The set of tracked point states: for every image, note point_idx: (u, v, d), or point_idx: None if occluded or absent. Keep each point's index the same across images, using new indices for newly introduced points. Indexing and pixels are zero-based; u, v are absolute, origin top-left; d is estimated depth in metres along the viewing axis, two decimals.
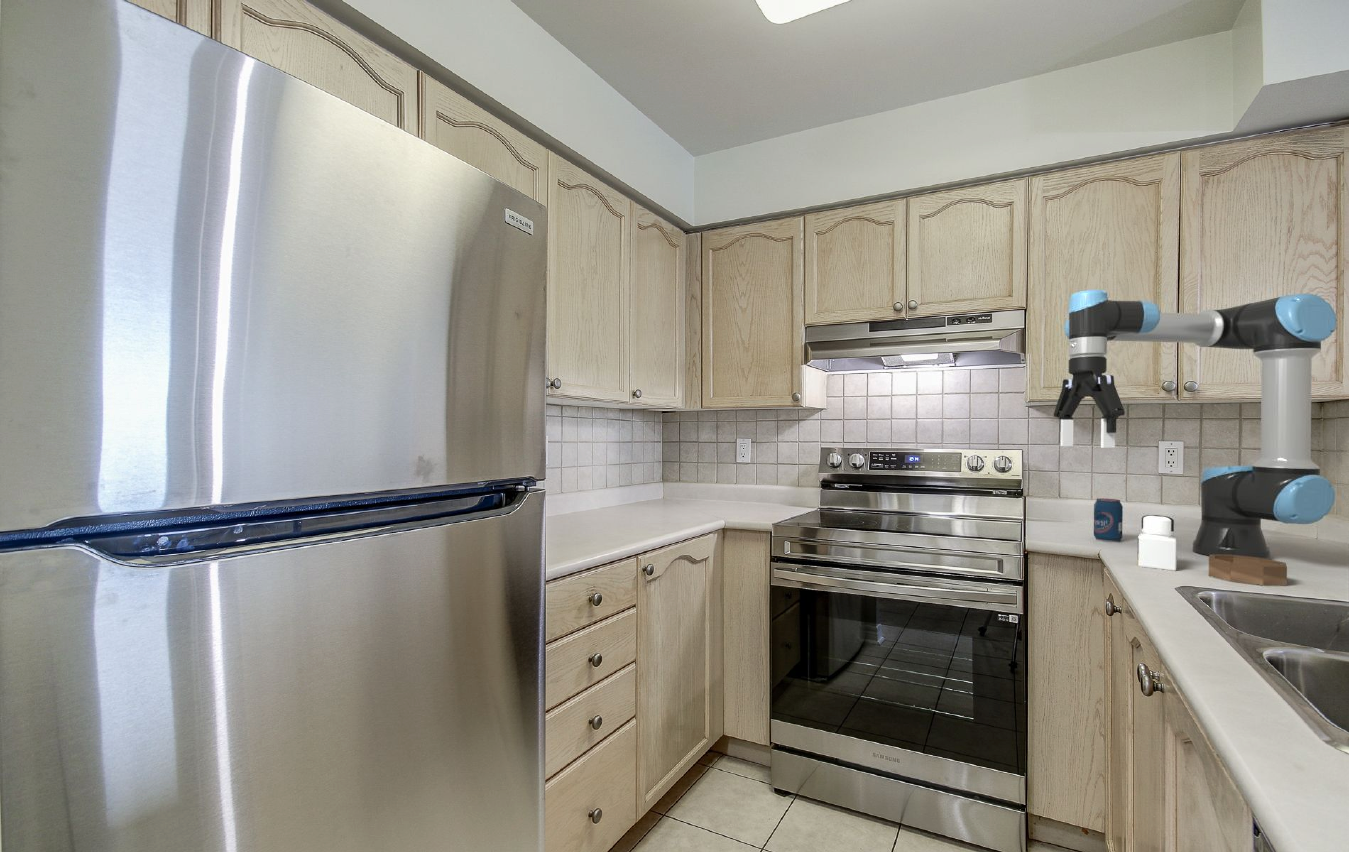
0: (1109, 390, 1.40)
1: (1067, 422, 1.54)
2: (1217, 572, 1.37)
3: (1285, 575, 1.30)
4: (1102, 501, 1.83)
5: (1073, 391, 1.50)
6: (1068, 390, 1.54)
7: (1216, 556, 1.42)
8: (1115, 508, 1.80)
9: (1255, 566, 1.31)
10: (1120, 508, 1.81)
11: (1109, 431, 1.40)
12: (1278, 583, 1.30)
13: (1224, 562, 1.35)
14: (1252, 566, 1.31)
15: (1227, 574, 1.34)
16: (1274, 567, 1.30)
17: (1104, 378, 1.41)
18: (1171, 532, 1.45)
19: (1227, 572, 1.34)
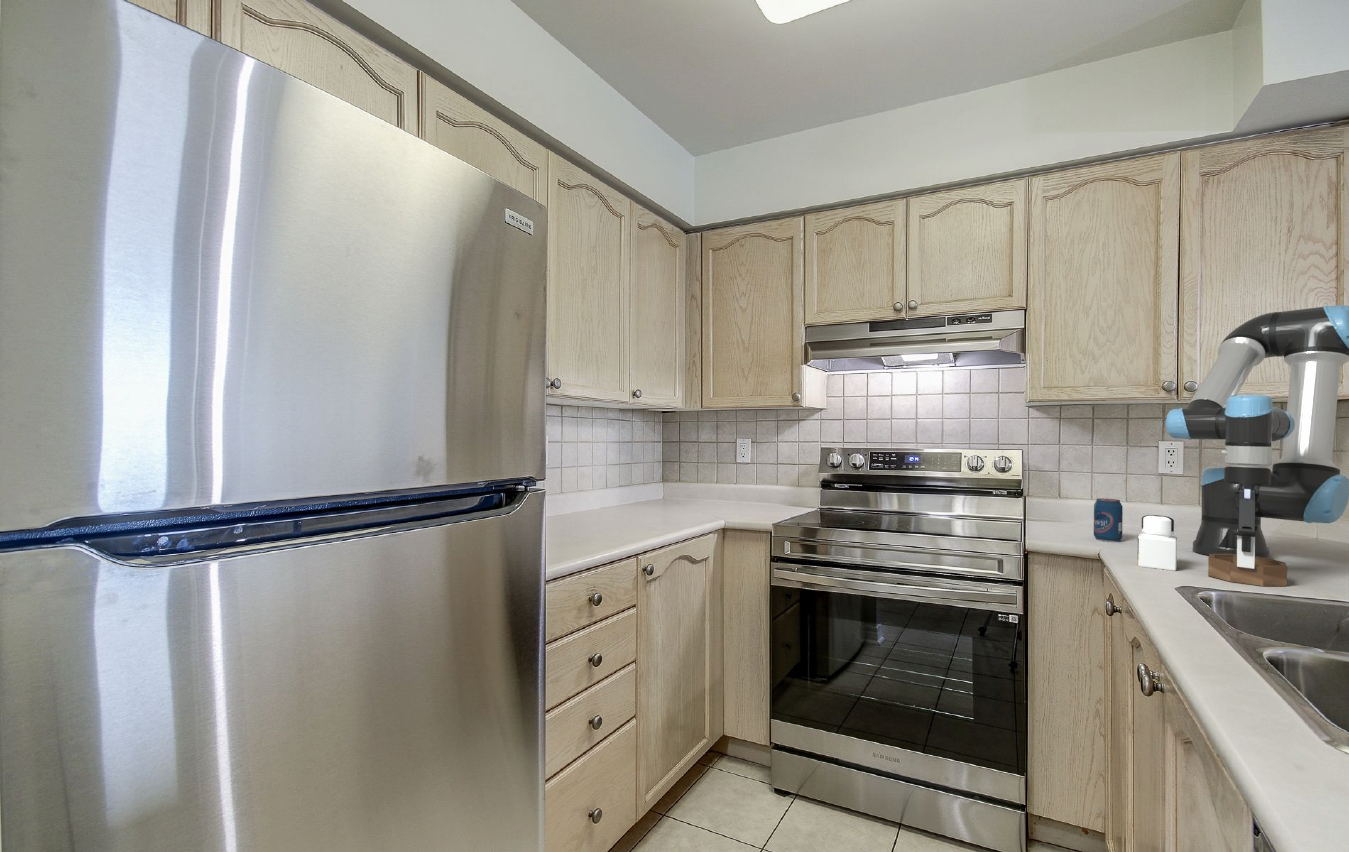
0: (1244, 505, 1.31)
1: None
2: (1217, 572, 1.36)
3: (1285, 575, 1.30)
4: (1102, 501, 1.83)
5: None
6: None
7: (1216, 555, 1.41)
8: (1115, 508, 1.80)
9: (1255, 566, 1.30)
10: (1120, 508, 1.81)
11: (1241, 550, 1.31)
12: (1278, 583, 1.30)
13: (1224, 562, 1.34)
14: None
15: (1227, 574, 1.34)
16: (1274, 567, 1.30)
17: (1240, 492, 1.32)
18: (1171, 532, 1.45)
19: (1227, 572, 1.34)
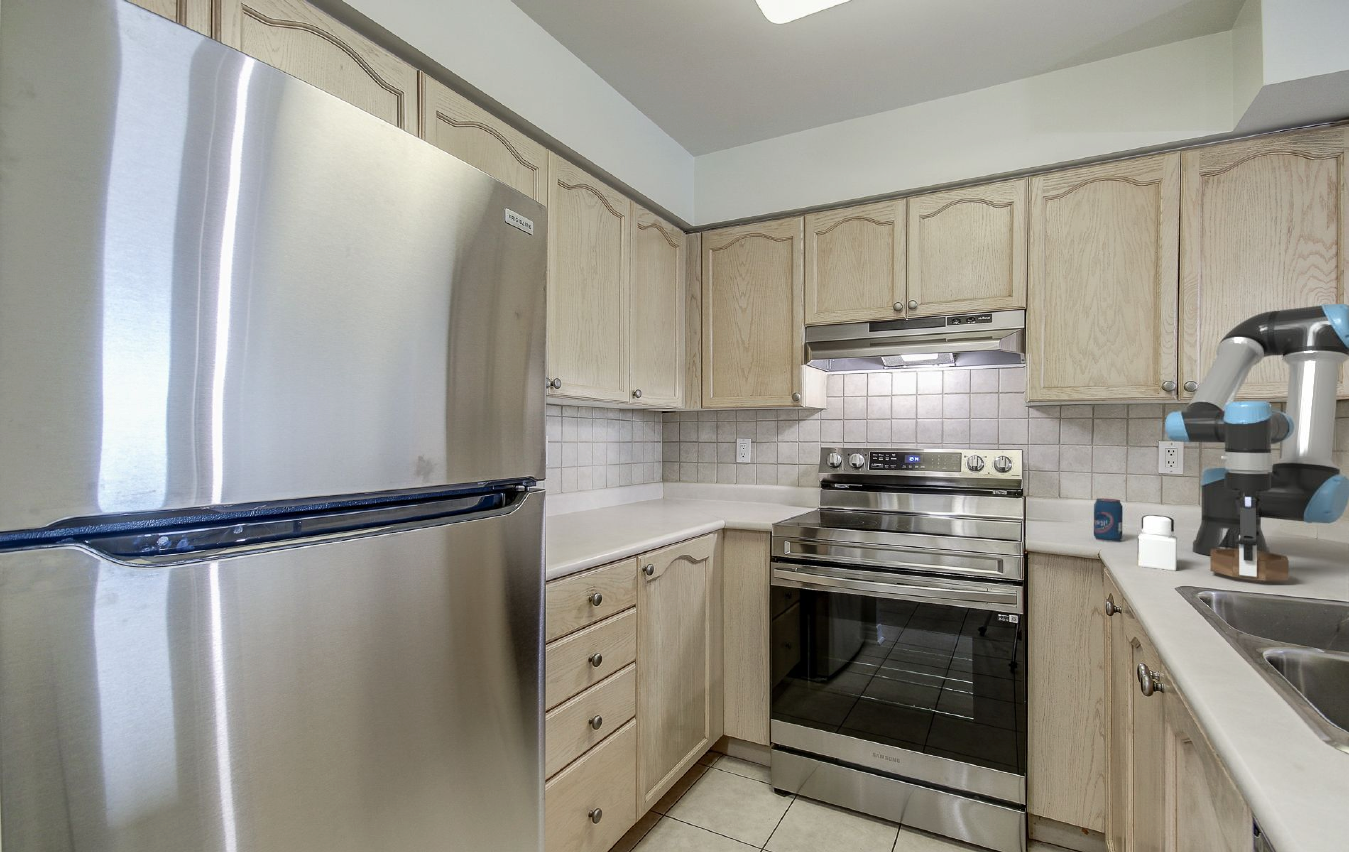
0: (1245, 514, 1.31)
1: None
2: (1219, 567, 1.37)
3: (1287, 569, 1.31)
4: (1102, 501, 1.83)
5: None
6: None
7: (1217, 550, 1.42)
8: (1115, 508, 1.80)
9: (1257, 561, 1.31)
10: (1120, 508, 1.81)
11: (1243, 558, 1.31)
12: (1280, 577, 1.31)
13: (1226, 557, 1.35)
14: None
15: (1229, 569, 1.35)
16: (1276, 562, 1.31)
17: (1241, 500, 1.32)
18: (1171, 532, 1.45)
19: (1229, 567, 1.35)
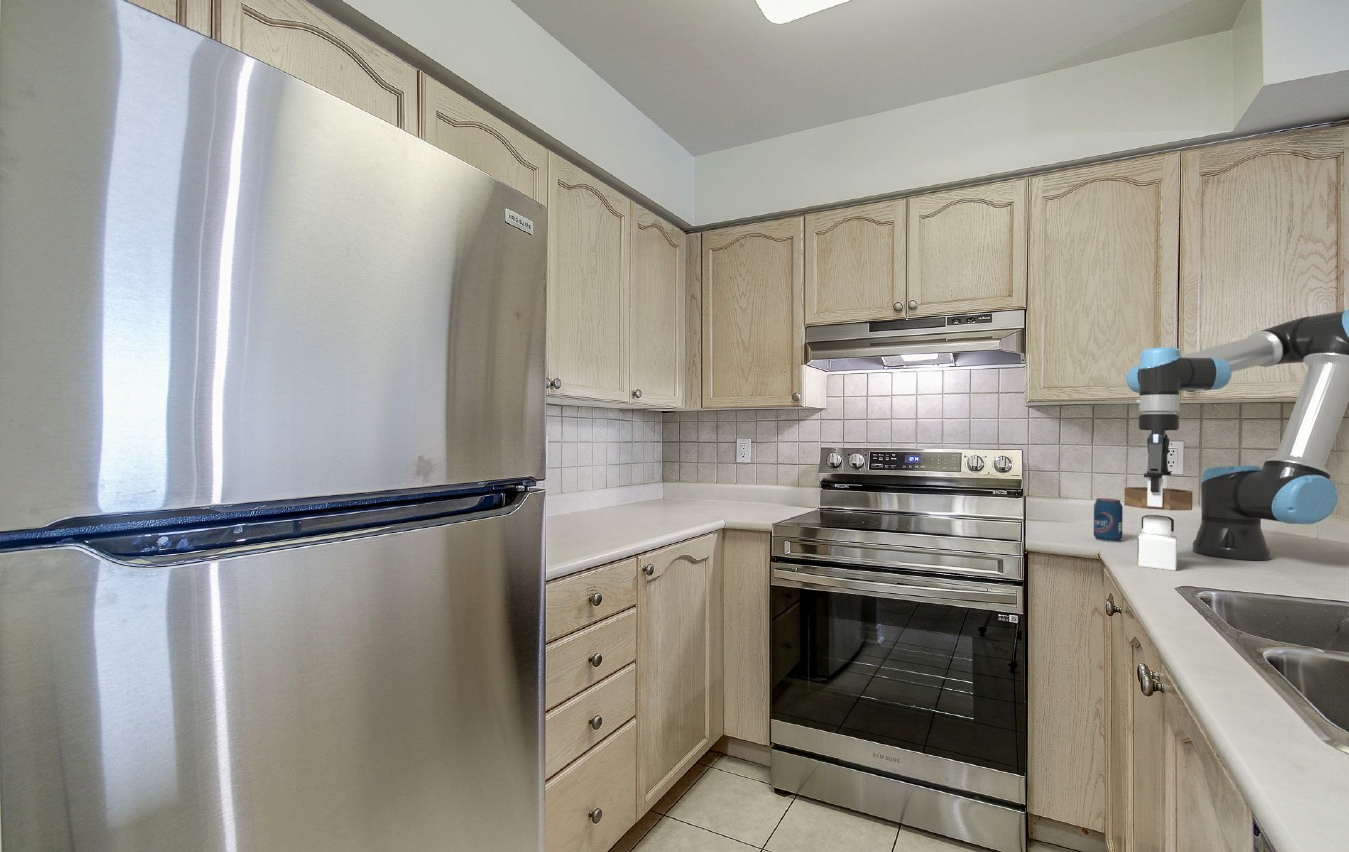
0: (1152, 449, 1.43)
1: None
2: (1131, 501, 1.48)
3: (1190, 500, 1.42)
4: (1102, 501, 1.83)
5: None
6: None
7: (1133, 488, 1.53)
8: (1115, 508, 1.80)
9: (1163, 493, 1.43)
10: (1120, 508, 1.81)
11: (1151, 490, 1.43)
12: (1183, 508, 1.42)
13: (1137, 491, 1.47)
14: None
15: (1139, 502, 1.46)
16: (1180, 493, 1.42)
17: (1150, 437, 1.44)
18: (1171, 532, 1.45)
19: (1139, 500, 1.46)
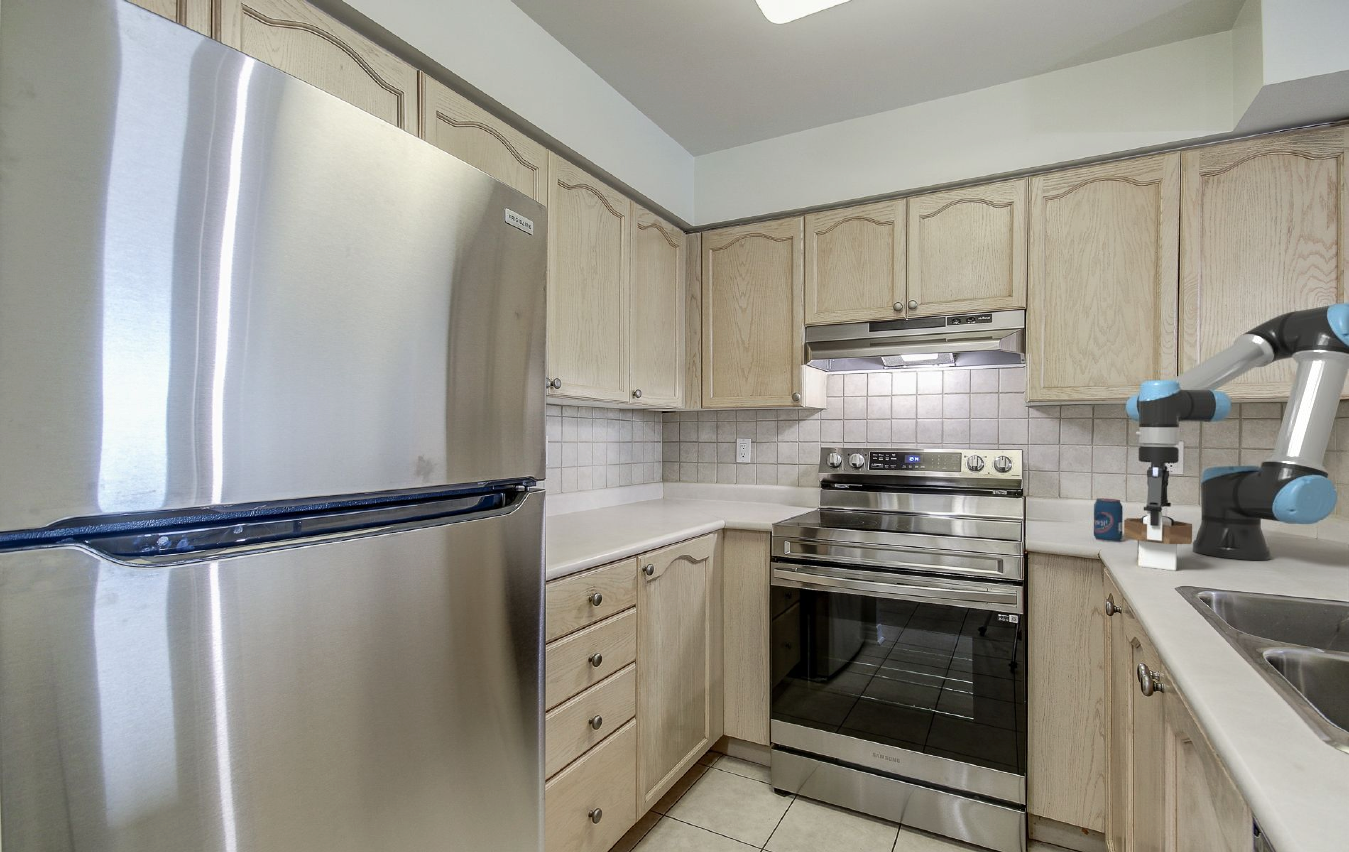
0: (1152, 483, 1.43)
1: None
2: (1131, 533, 1.48)
3: (1189, 534, 1.42)
4: (1102, 501, 1.83)
5: None
6: None
7: (1132, 519, 1.53)
8: (1115, 508, 1.80)
9: (1162, 526, 1.43)
10: (1120, 508, 1.81)
11: (1150, 523, 1.43)
12: (1183, 542, 1.42)
13: (1136, 523, 1.46)
14: None
15: (1139, 534, 1.46)
16: (1179, 527, 1.42)
17: (1149, 470, 1.44)
18: None
19: (1139, 533, 1.46)
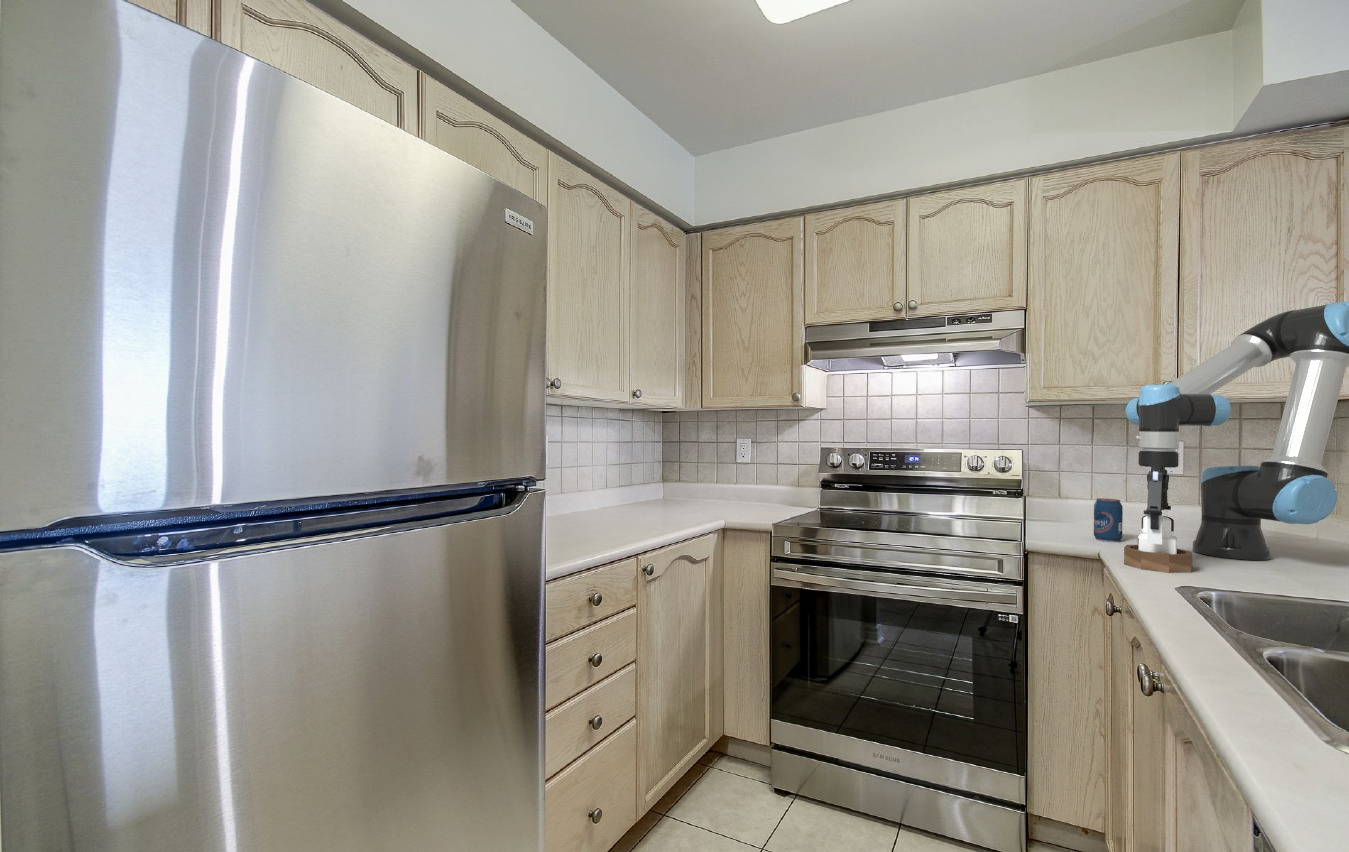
0: (1152, 487, 1.43)
1: None
2: (1131, 561, 1.48)
3: (1189, 563, 1.42)
4: (1102, 501, 1.83)
5: None
6: None
7: (1132, 546, 1.53)
8: (1115, 508, 1.80)
9: (1162, 554, 1.42)
10: (1120, 508, 1.81)
11: (1150, 527, 1.43)
12: (1183, 570, 1.42)
13: (1136, 551, 1.46)
14: (1159, 554, 1.43)
15: (1138, 562, 1.46)
16: (1179, 555, 1.42)
17: (1149, 475, 1.44)
18: (1171, 532, 1.45)
19: (1138, 560, 1.46)
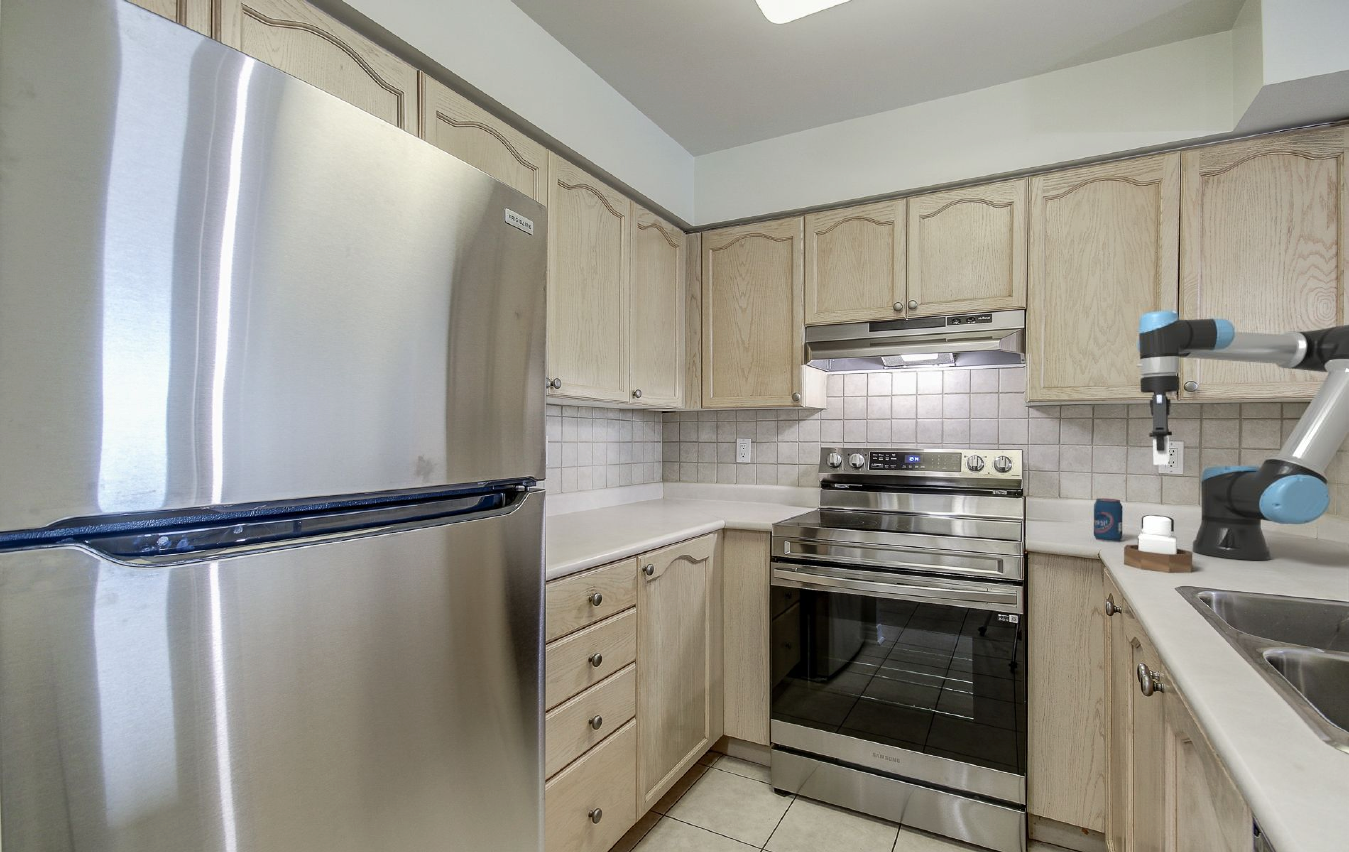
0: (1157, 409, 1.46)
1: None
2: (1131, 561, 1.48)
3: (1189, 563, 1.42)
4: (1102, 501, 1.83)
5: None
6: None
7: (1132, 546, 1.53)
8: (1115, 508, 1.80)
9: (1162, 554, 1.42)
10: (1120, 508, 1.81)
11: (1156, 449, 1.46)
12: (1183, 570, 1.42)
13: (1136, 551, 1.46)
14: (1159, 554, 1.43)
15: (1138, 562, 1.46)
16: (1179, 555, 1.42)
17: (1153, 398, 1.47)
18: (1171, 532, 1.45)
19: (1138, 560, 1.46)
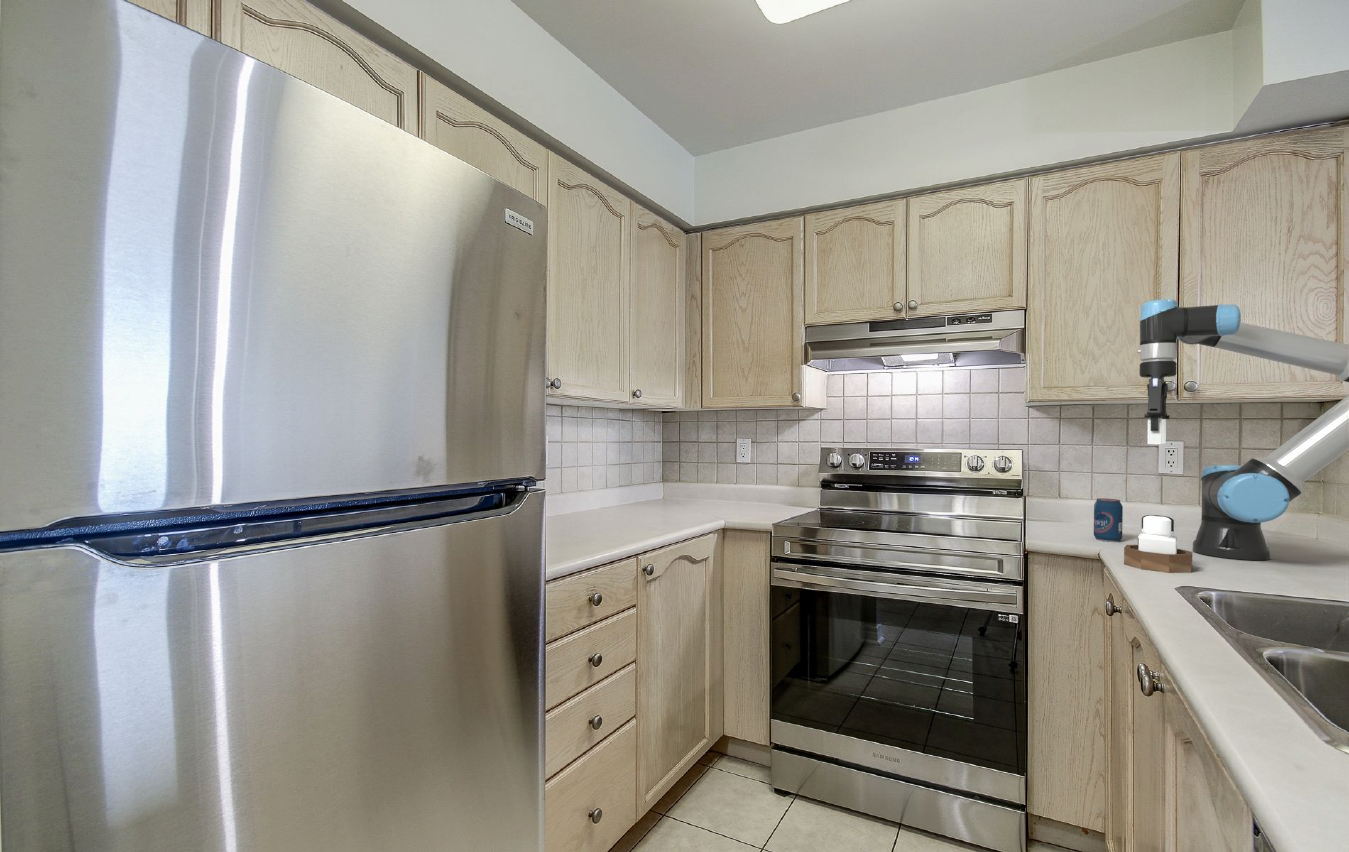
0: (1152, 392, 1.55)
1: None
2: (1131, 561, 1.48)
3: (1189, 563, 1.42)
4: (1102, 501, 1.83)
5: None
6: None
7: (1132, 546, 1.53)
8: (1115, 508, 1.80)
9: (1162, 554, 1.42)
10: (1120, 508, 1.81)
11: (1150, 429, 1.55)
12: (1183, 570, 1.42)
13: (1136, 551, 1.46)
14: (1159, 554, 1.43)
15: (1138, 562, 1.46)
16: (1179, 555, 1.42)
17: (1150, 381, 1.56)
18: (1171, 532, 1.45)
19: (1138, 560, 1.46)
